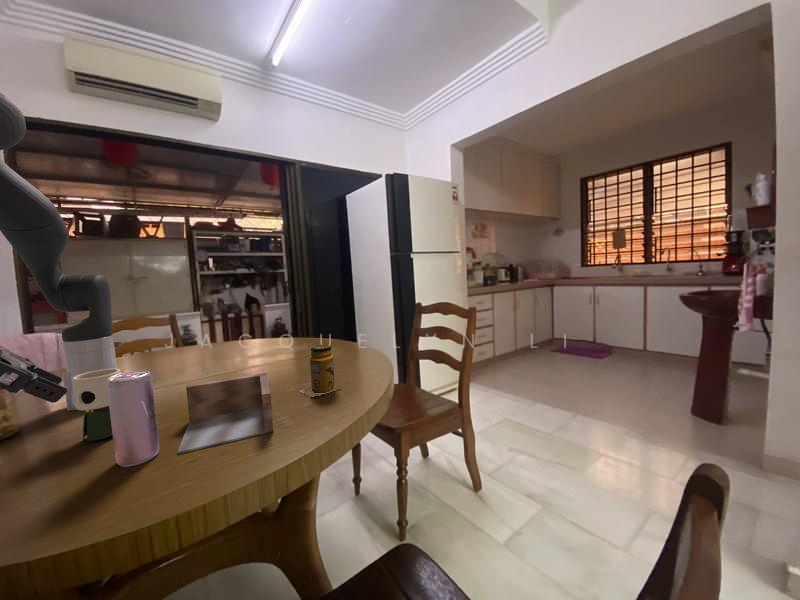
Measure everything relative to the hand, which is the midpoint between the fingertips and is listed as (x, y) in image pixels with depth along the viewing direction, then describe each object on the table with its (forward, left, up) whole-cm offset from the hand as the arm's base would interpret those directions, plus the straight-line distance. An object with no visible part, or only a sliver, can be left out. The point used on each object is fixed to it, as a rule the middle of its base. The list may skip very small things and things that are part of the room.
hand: (59, 390), depth 49 cm
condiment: (+42, +19, -15) cm, 49 cm away
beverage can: (+7, +3, -15) cm, 17 cm away
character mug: (-2, +17, -15) cm, 23 cm away
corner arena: (+21, +9, -15) cm, 28 cm away
